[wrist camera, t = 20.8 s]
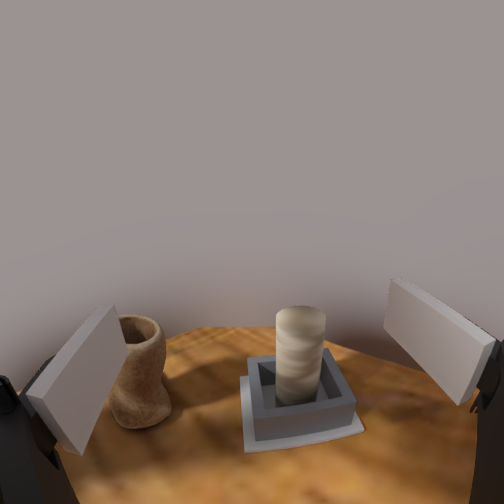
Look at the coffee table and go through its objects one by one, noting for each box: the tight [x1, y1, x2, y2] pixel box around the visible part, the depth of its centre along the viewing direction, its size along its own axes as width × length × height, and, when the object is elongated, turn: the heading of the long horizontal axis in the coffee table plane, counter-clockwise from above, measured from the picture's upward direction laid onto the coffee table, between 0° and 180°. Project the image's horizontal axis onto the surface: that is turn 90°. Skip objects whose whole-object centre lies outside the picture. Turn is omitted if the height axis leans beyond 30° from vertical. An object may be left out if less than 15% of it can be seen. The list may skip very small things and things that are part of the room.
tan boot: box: [108, 314, 172, 429], centre depth 35 cm, size 15×12×15 cm
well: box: [240, 348, 365, 453], centre depth 35 cm, size 16×16×6 cm
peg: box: [275, 306, 326, 408], centre depth 34 cm, size 6×6×15 cm
